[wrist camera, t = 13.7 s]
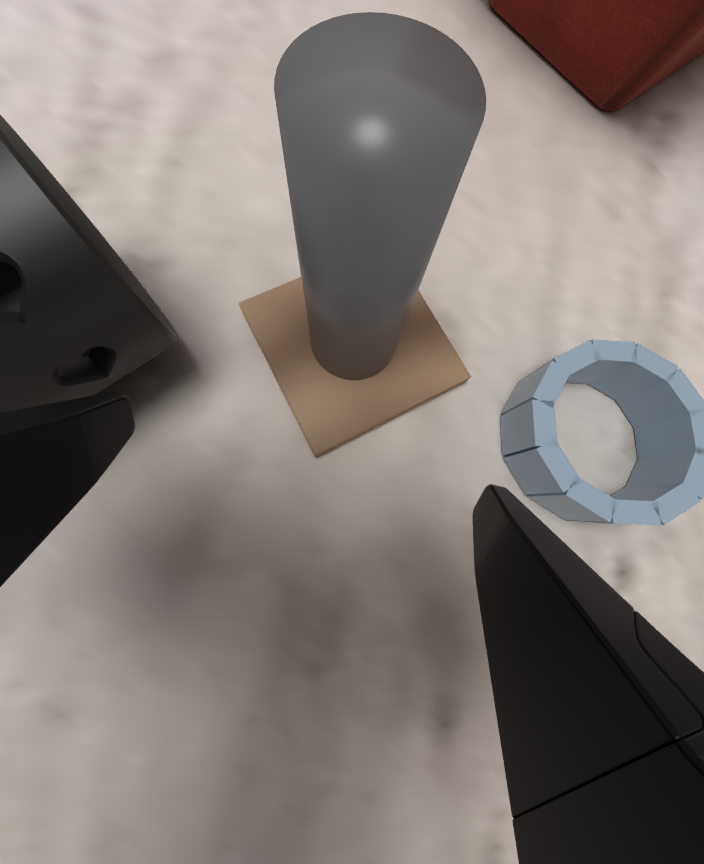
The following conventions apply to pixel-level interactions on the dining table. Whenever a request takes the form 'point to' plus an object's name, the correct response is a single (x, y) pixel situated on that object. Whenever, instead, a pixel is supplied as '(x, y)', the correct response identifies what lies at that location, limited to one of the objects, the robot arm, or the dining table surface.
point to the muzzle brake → (63, 293)
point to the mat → (339, 398)
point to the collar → (653, 428)
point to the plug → (371, 172)
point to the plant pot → (610, 41)
